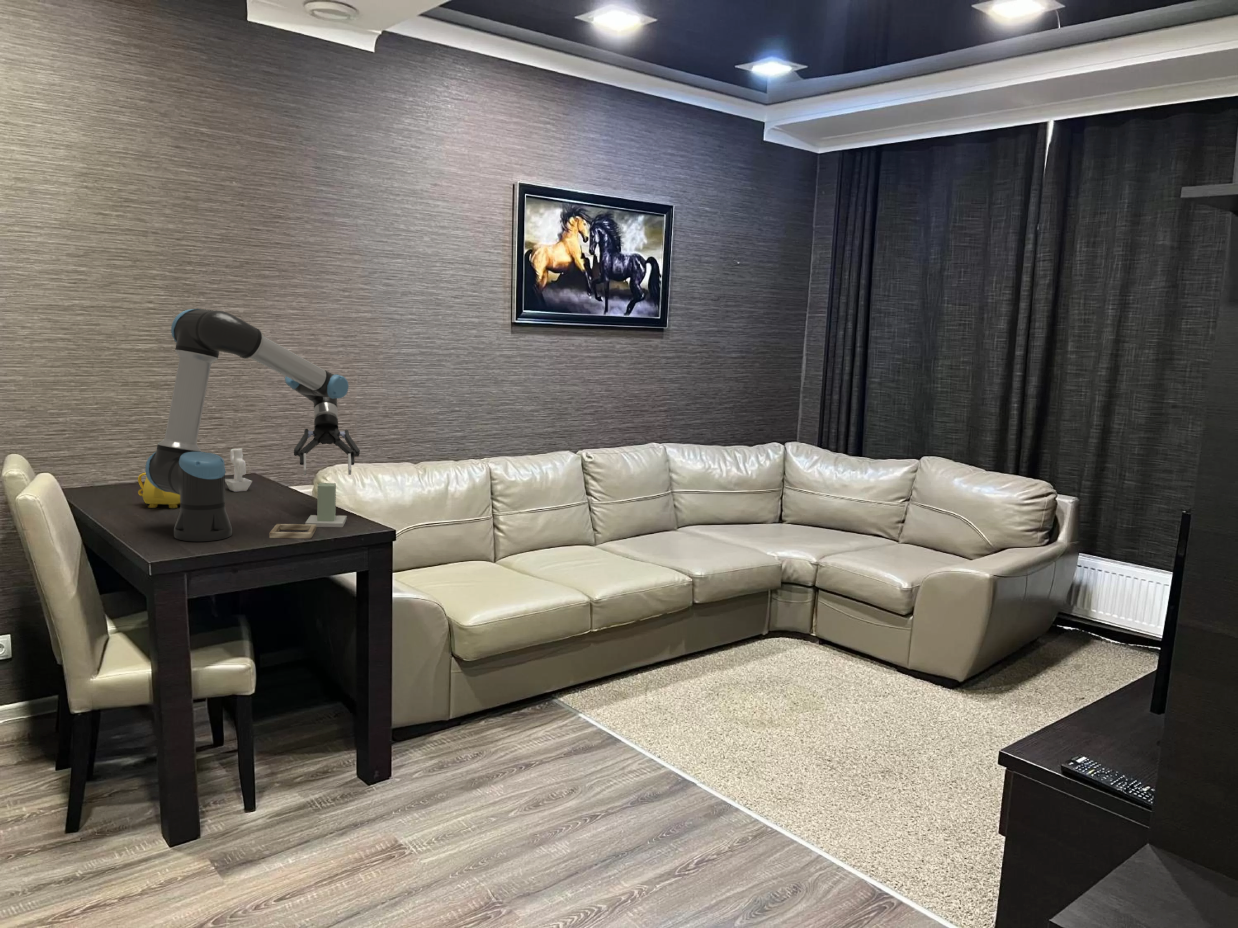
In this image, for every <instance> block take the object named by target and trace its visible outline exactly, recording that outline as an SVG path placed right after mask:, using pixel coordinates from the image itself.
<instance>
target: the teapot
mask: <svg viewBox="0 0 1238 928" xmlns="http://www.w3.org/2000/svg"><path fill="white" fill-rule="evenodd" d="M144 476H146V472H145V471H144V472H143V473H140V474H139V475H138V477H137V482H138V484H139V486H140V489H138V491H137V493H138V496H140V497H142V499H143V502H144V503H145V504H146V505H147V504H148V506H147V508H149V509H156V508H157V507H158V505H168V508H169V509H178V505H180V495H179V494H175V493H172V492H165V491H163V490H161V489H159V488H156V487H155V486H153V485H152V484H151V483H150V481H149V480H148V478H147V476H146V477H145V480H144V482H143V480H142V477H144Z"/></svg>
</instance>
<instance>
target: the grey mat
mask: <svg viewBox="0 0 1238 928" xmlns="http://www.w3.org/2000/svg"><path fill="white" fill-rule="evenodd" d="M347 517H348V516H347V515H336V518H335V520H334V521H317V515H316V514H310V516H309V517H308V519H306V521H305V522H304V523H305V524H312V525H316V528H343V527H344V525H345V523H346V521H347Z"/></svg>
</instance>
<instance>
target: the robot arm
mask: <svg viewBox="0 0 1238 928" xmlns="http://www.w3.org/2000/svg"><path fill="white" fill-rule="evenodd" d="M170 332H171V333H170V334H171V337H172V338H173V341H174V342H175V350H174V352H175V353H176V354H177V356H178V358H179V359H178V364H177V370H176V375H175V380H174V386H173V391H172V397H171V402H170V408H169V412H168V418H167V424H166V430H165V434H164V435H165V436H164V438H163V439H162V440H160V441H159V442H157V446H156V451H155V452H153V453H152V454H151V455H149V456H148V458H147V460H146V463H145V469H144V470H145V471H144V473H145V472H146V475H145V476H147V478H148V480H149V481H150V483H151V484H152V485H153V486H155V487H156V488H159V489H161V490H163V491H165V492H172V493H175V494H179V495H180V504H179V506H180V507H179V509H180V511H179V512H178V516H177V519H176V522H175V524H174V528H173V538H175V539H176V540H180V541H185V542H210V541H219V540H223V539H227V538H229V537H231V536H232V535H233V528H232V523H231V521H230V518H229V515H228V513H227V509H226V482H225V479H226V472H227V471H226V465H225V460H224V458H223V457H222V456H220V455H218V454H216V453H212V452H205V451H202V449H201V448H200V447H199V445H198V438H199V432H200V429H201V428H200V427H201V421H202V416H203V411H204V405H205V401H206V394H207V390H208V389H207V388H208V383H209V378H210V374H211V368H212V364H213V363H215V362H216V361H218V360H219V357H220V356H219V355H220V352H222V353H228V354H232V355H235V356H237V357H240V358H242V359H243V360H245V359H249V358H250V359H251V360H252V361H253V360H254V361H255V362H257V363H259V364H261V365H262V366H265V367H267V368H268V369H271V370H273V371H275V372H276V373H279V374H280V375H282V376H285V377H284V381H285V385H287V386H288V387H289V388H291V389H292V390H294V391H296V392H297V393H298V394H300V395H301V396H303V397H305V398H306V399H307V400H309V401H311V402H312V403H313V419H314V420H313V421H314V423H313V426H314V427H313V428H314V430H309V429H308V428H304V430H303V431H304V433H303V435H302V436H301V438H300V440H299V441H298V443H297V445H296V446H295V447H294V449H293V456H294V457H299V465H300V466H303V475H304V476H306V475H307V454H309V453H310V452H311V451H312V450H313V449H314V448H315V447H316V446H318V445H319V444H321V445H327V444H328V445H332V444H334V445H335V446H336V447H338V448H339V449H340V450H342V451H343V452H344V453H345V454H346V455H347V467H348V468H347V469H348V471H347V472H348V473H347V474H348V476H350V475H352V466H354V465H355V462H356V461H355V457H359V456H360V454H361V453H360V451H361V450H360V448H359V447H358V446H357V444H356V442H355V441H354V439H353V438H352V437H351V435H350V431H349V429H344V431H340V430H339V413H338V411H339V410H338V399H342V398H344V397H345V396H346V395H347V393H348V391H349V387H350V386H349V381H348V379H346V377H345V376H343V375H340V374H334V373H332V372H329V370H326V369H324V368H322V367H320V366H318V365H317V364H315V363H313V362H312V361H309V360H308V359H307V358H306V359H305V358H304V357H302V356H301V355H299V354H296V353H295V352H293V351H291V350H289V349H288V348H286V347H284V346H283V345H281V344H279V343H278V342H275V341H273V340H271V339H270V338H268V337H266V336H265V335H263V333H262V330H260V329H259V328H257V327H255V326H254V325H251V324H250V323H248V322H246V321H245V320H243V319H241V318H239V317H237V316H236V315H234V314H231V313H229V312H227V311H225V310H224V311H223V310H214V309H206V308H205V309H204V308H203V309H202V308H191V309H186V310H184V311H181V312H180V313H178V314H176V316H175V317H174V318H173V321H172V323H171V329H170ZM312 436H313V438H312V440H310V441H309V442H308V443H307V441H308V439H310V438H311V437H312ZM340 437H341V438H340ZM342 439H344V440H345V442H346V443H345V442H344V441H343V440H342ZM306 443H307V444H306Z"/></svg>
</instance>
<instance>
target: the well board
mask: <svg viewBox="0 0 1238 928" xmlns="http://www.w3.org/2000/svg"><path fill="white" fill-rule="evenodd" d="M291 531H292V532H291ZM295 531H296V532H295ZM301 531H303V532H301ZM304 531H305V532H304ZM316 531H317V527H316V525H312V524H302V523H301V524H299V523H298V524H297V523H276V524H275V525H274V527H273V528H272V529H271V530H270V532H269V533H268V535H269V539H312V537H313V536H314V534H315V532H316Z"/></svg>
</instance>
